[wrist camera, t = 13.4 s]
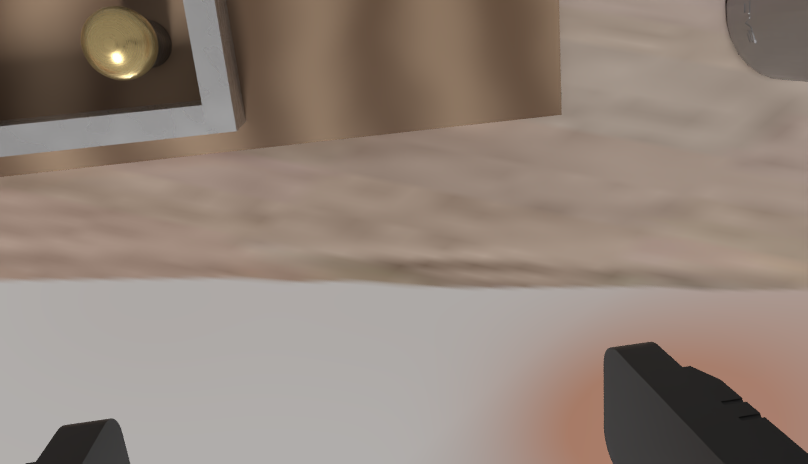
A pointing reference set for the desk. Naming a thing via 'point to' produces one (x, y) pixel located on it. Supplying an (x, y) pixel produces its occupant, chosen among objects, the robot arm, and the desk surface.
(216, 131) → the grey rectangular frame
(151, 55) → the post
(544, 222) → the desk surface
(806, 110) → the desk surface
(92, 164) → the brown wooden board
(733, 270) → the desk surface
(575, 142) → the desk surface
